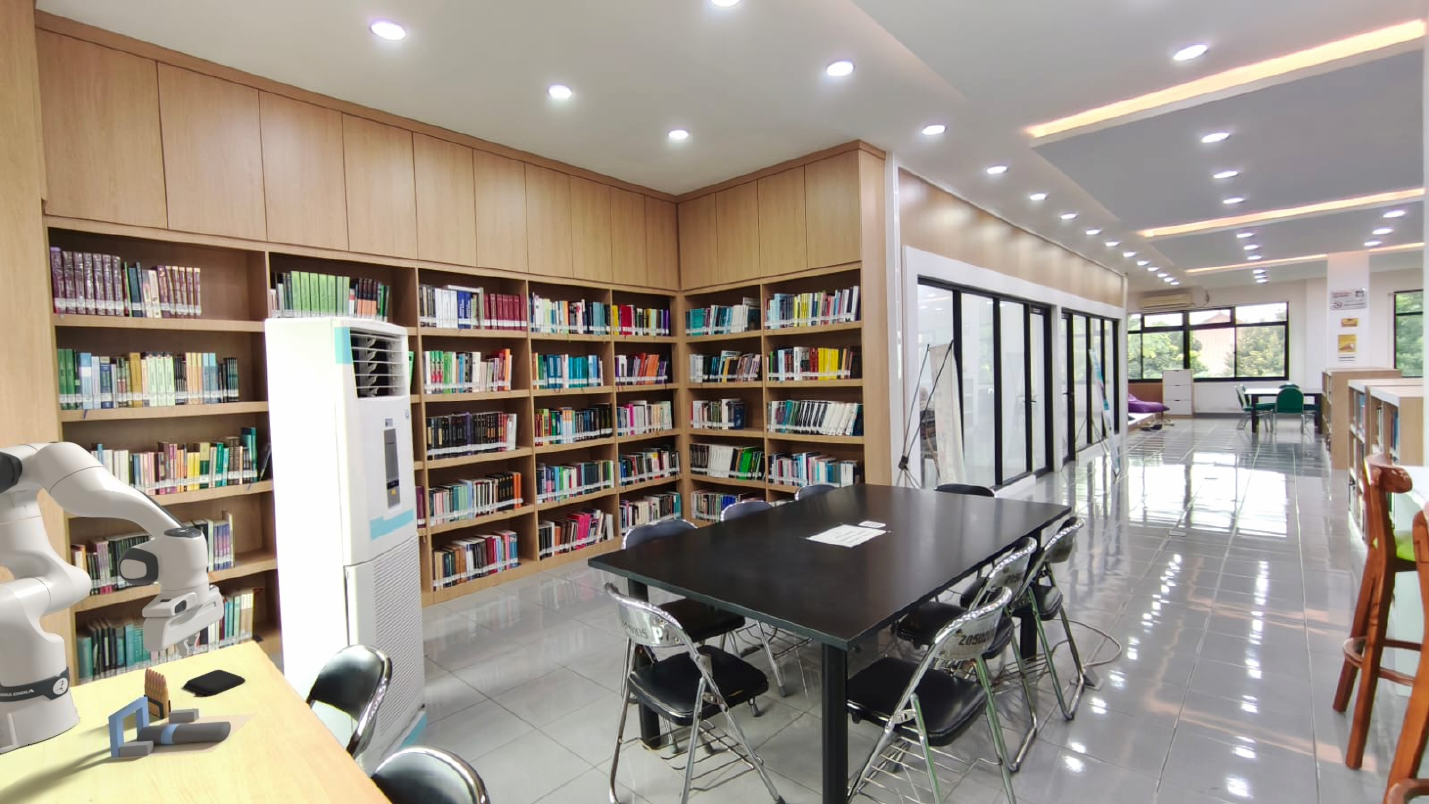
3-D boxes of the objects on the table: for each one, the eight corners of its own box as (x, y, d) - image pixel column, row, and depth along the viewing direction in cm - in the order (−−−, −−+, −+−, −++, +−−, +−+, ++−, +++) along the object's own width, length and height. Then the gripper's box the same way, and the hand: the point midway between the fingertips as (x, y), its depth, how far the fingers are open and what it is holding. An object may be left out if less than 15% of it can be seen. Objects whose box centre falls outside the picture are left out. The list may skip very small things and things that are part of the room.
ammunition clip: (172, 720, 159) (169, 673, 159) (163, 723, 157) (159, 676, 157) (153, 710, 164) (150, 665, 164) (144, 713, 163) (141, 668, 162)
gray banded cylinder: (135, 748, 144) (137, 729, 145) (149, 742, 148) (152, 724, 149) (217, 743, 145) (219, 724, 146) (230, 737, 149) (231, 719, 150)
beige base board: (108, 763, 141) (107, 748, 141) (167, 723, 157) (166, 709, 157) (211, 756, 143) (210, 741, 142) (259, 717, 159) (258, 703, 159)
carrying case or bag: (176, 693, 174) (204, 704, 167) (175, 682, 173) (203, 693, 167) (220, 676, 183) (248, 686, 177) (219, 666, 183) (248, 675, 176)
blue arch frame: (111, 758, 141) (108, 716, 141) (142, 736, 150) (140, 697, 150) (118, 757, 142) (115, 716, 141) (150, 735, 150) (147, 696, 150)
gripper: (204, 582, 159) (206, 635, 160) (135, 612, 139) (138, 673, 139) (230, 581, 160) (232, 634, 160) (165, 612, 139) (167, 673, 140)
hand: (187, 653), depth 150 cm, fingers closed
